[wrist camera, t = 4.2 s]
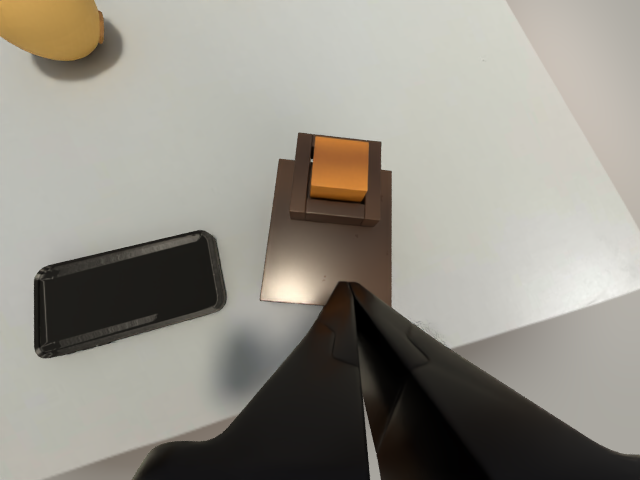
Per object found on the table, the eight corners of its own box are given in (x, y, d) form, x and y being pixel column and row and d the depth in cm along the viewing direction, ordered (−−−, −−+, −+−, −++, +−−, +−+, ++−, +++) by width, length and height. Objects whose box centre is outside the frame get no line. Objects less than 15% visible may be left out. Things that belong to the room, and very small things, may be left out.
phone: (33, 268, 20) (209, 227, 22) (47, 270, 22) (213, 230, 24) (34, 363, 19) (224, 310, 21) (49, 360, 20) (228, 309, 22)
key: (360, 202, 18) (367, 191, 16) (309, 197, 18) (310, 185, 16) (362, 158, 19) (368, 142, 17) (314, 152, 19) (315, 135, 17)
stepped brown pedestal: (372, 308, 23) (401, 312, 16) (269, 300, 22) (254, 300, 16) (374, 183, 26) (399, 143, 20) (285, 174, 26) (279, 129, 19)
